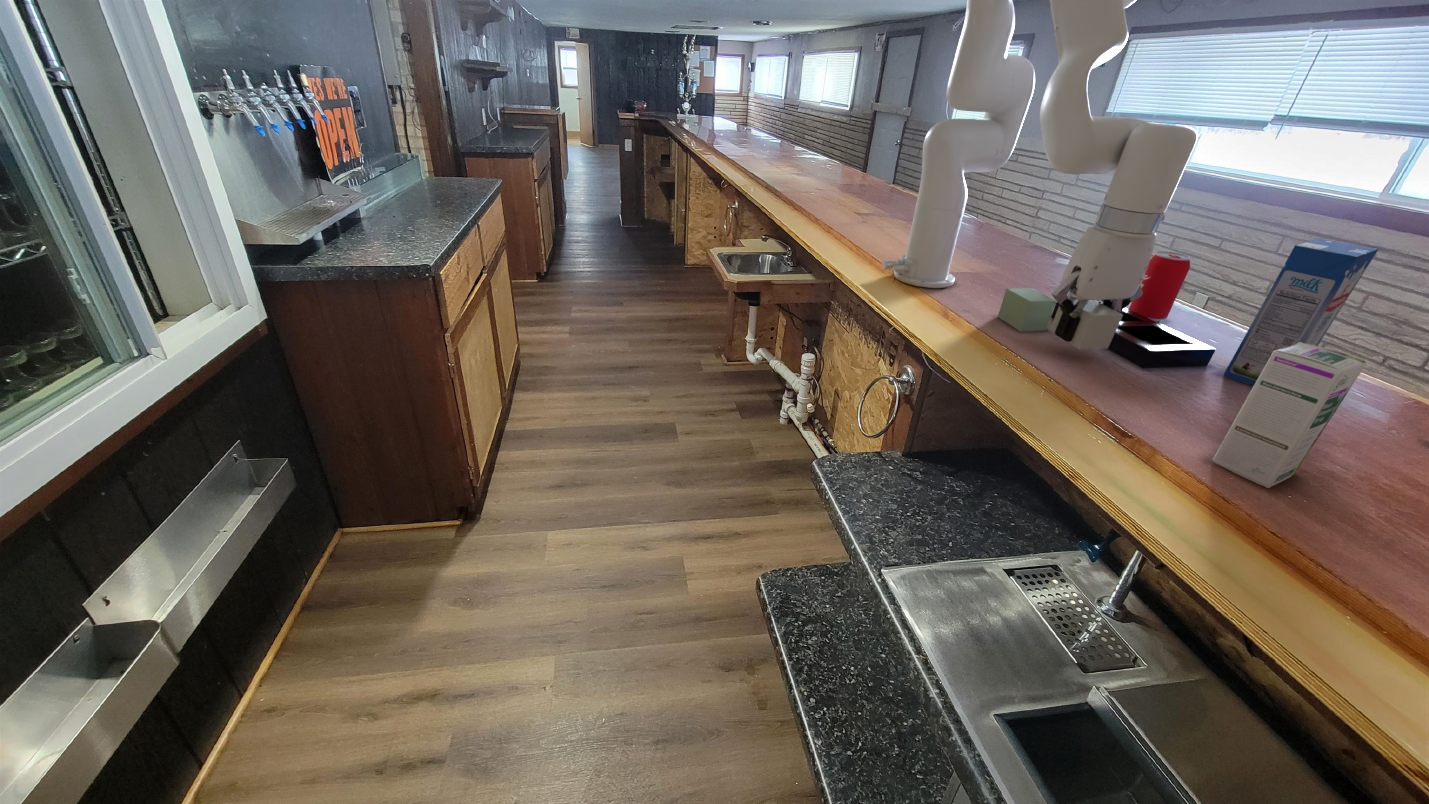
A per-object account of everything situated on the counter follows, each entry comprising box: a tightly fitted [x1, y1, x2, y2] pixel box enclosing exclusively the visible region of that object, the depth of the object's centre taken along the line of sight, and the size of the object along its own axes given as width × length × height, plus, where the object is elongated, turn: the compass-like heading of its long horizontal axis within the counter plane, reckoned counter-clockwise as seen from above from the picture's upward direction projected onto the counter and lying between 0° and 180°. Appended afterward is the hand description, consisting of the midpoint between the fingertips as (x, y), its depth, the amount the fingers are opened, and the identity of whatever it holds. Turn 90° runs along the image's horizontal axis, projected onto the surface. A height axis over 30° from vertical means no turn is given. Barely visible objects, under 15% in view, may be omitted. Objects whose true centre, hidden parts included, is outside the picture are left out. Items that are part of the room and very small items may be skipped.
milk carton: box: [1222, 238, 1379, 387], centre depth 82 cm, size 10×6×20 cm, turn 122°
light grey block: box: [1049, 299, 1123, 350], centre depth 88 cm, size 5×7×6 cm
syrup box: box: [1212, 342, 1367, 489], centre depth 61 cm, size 6×6×14 cm
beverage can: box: [1128, 250, 1191, 322], centre depth 105 cm, size 6×6×12 cm
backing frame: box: [1050, 301, 1217, 369], centre depth 97 cm, size 12×22×3 cm, turn 9°
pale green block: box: [997, 287, 1057, 332], centre depth 101 cm, size 5×7×6 cm
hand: (1078, 336), depth 89 cm, fingers closed on light grey block, 5 cm apart
